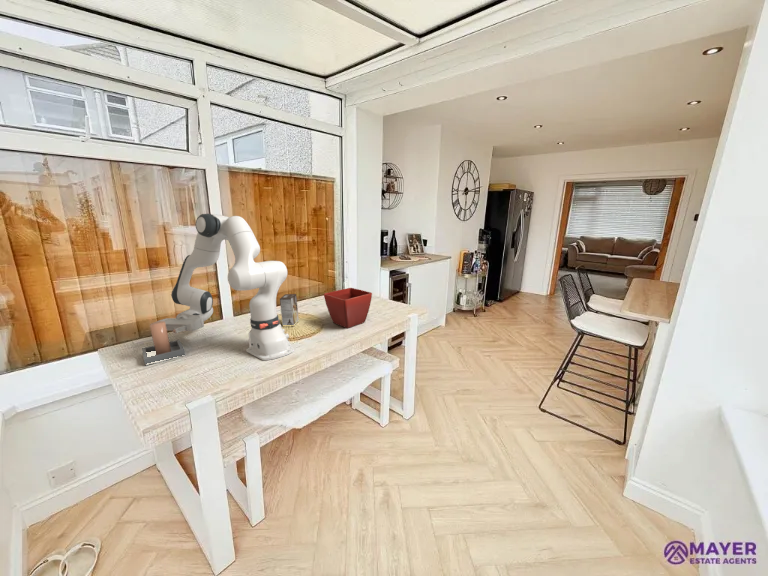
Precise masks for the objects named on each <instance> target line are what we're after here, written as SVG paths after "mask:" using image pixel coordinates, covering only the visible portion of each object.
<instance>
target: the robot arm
mask: <svg viewBox="0 0 768 576" xmlns="http://www.w3.org/2000/svg"><path fill="white" fill-rule="evenodd" d="M195 230H196V231H197V234H196V237H195V240H194V246H193V250H192V251H191V253H190V254H189V255H187V256H186V257H185V258H184V260H183V263H182V265H181V267H180V268H181V269H180V270H179V271H180V272H179V274H178V277H177V280H176V283H175V285H174V287H173V289H172V291H171V294H170V295H171V300H172V301H173V303H175V304H176V305H181V306H187V307H189V309H185V310H184V311H182V312H180V313H178V314H177V315H176V317H169V318H163V319H160V320H157V321H156V322H159V321H165V323H166V328H167V332H168V331H170V332H171V331H172V332H173V333H174V334H177V333H180V332H185V331H186V332H189V331H190V332H195V331H198V330H199V329H202V328H204V327H205V321H206V320H208V319H209V318H211V316H212V315H213V313H214V308H213V304H214V299H213V296H212V293H211V292H210V291H208V290H204V289H202V288H197V287H194V286H191V285H190V281H191V279H192V276H193V273H194V271H195V270H196V269H197V268H205V267H210V266H213V265H215V264H216V263H217V262H218V260H219V257H220V253H221V252H220V251H221V244H222V242H223V241H226V240H227V241H228V243H229V245H230V246H231V248H230V249H232V253H233V255H234V263H233V266H232V267H231V268H230V269H229V271H228V273H227V282H228V284H229V287H231V289H233V290H235V291H251V290H256V289H258V291H257V293H256V294H255V295H253V297H252V298H251V299H250V301H249V302H248V303H249V304H248V305H249V313H250V318H249V320H250V327H251V329H250V330H249V331H248V344H249V347H247V348H246V353H248V354H250V355H252V356H254V357H255V358H258V359H259V360H262V361H268V360H269V361H270V360H275V359H278V358H282V357H284V356H287V355H290V354H292V353H293V352H294V350H295V349H294V347H293V345H292V344H291V342H290V341H289V338H290V335H289V333H285V330H286V329H285V328H283V326H282V325H281V322H280V318H279V315H278V312H277V311H278V310H277V295H278V293H279V289H280V287H281V286H282V284H283V283H284V282H285V281H286V279H287V277H288V268H287V266H286V264H285V263H284V262H282V261H280V260H266V261H260V262H257V261H256V262H255V260H254V259H256V258H257V257H258V255H260V253H261V246H260V244H259V242H258V240H257V238H256V236H255V234H254V231H253V230H252V228H251V226H250V225H249V224H248V222H247V221H246V220H245V219H244V217H242V216H239V215H232V216H226V215H222V214H212V213H201V214H200V215H198V217H197V218H196V219H195Z"/></svg>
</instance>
